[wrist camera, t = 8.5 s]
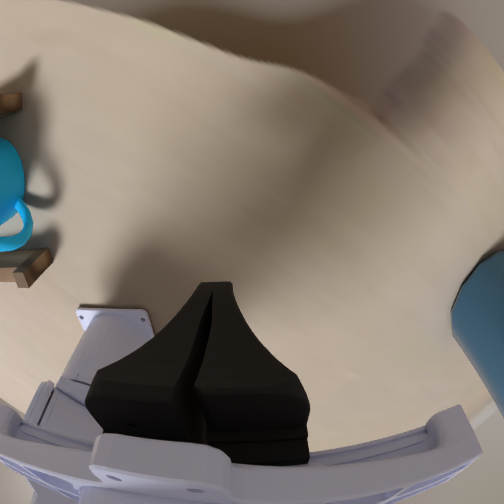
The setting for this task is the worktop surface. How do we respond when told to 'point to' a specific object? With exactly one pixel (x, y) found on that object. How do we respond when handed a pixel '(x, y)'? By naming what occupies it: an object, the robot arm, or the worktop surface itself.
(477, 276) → the wine bottle
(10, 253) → the wooden crate frame
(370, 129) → the worktop surface
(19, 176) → the mug
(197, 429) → the robot arm
